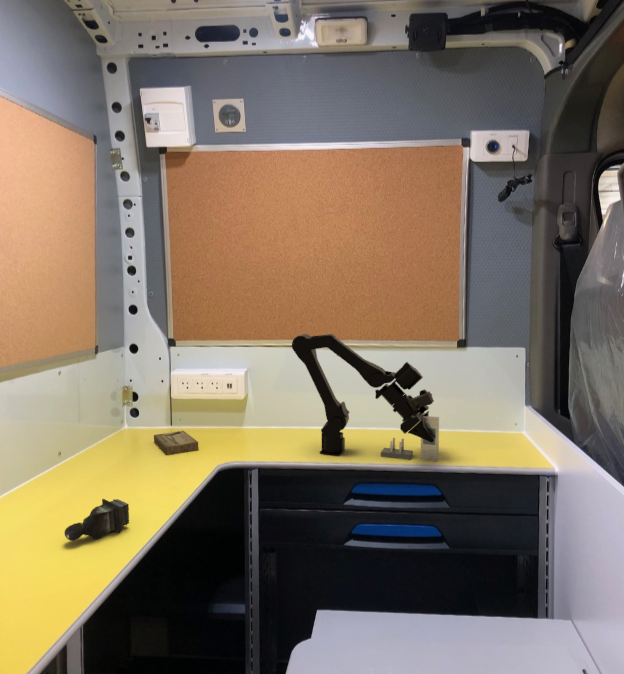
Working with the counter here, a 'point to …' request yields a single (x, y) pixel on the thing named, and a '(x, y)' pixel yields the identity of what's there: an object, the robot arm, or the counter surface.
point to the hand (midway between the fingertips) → (434, 438)
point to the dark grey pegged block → (397, 451)
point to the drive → (427, 448)
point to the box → (176, 442)
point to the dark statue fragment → (101, 521)
